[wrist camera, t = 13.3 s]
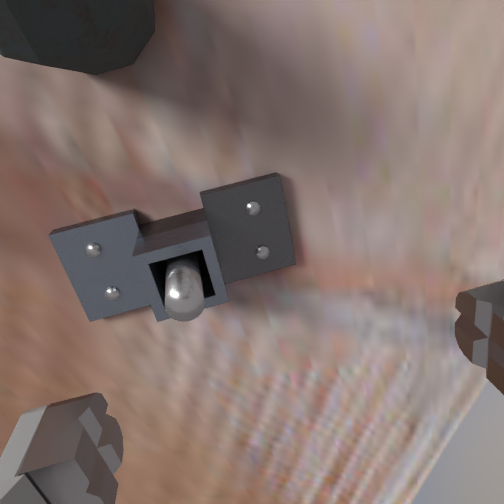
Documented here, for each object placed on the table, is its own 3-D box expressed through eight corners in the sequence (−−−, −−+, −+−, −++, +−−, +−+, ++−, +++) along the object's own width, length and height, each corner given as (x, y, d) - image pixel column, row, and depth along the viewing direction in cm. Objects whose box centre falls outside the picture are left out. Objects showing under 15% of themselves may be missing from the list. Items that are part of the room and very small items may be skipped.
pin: (191, 228, 39) (198, 282, 28) (199, 254, 41) (208, 315, 30) (163, 236, 39) (159, 293, 28) (171, 261, 40) (171, 325, 30)
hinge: (276, 172, 39) (299, 191, 31) (292, 258, 43) (315, 293, 36) (52, 230, 37) (23, 264, 30) (92, 314, 41) (75, 362, 34)
